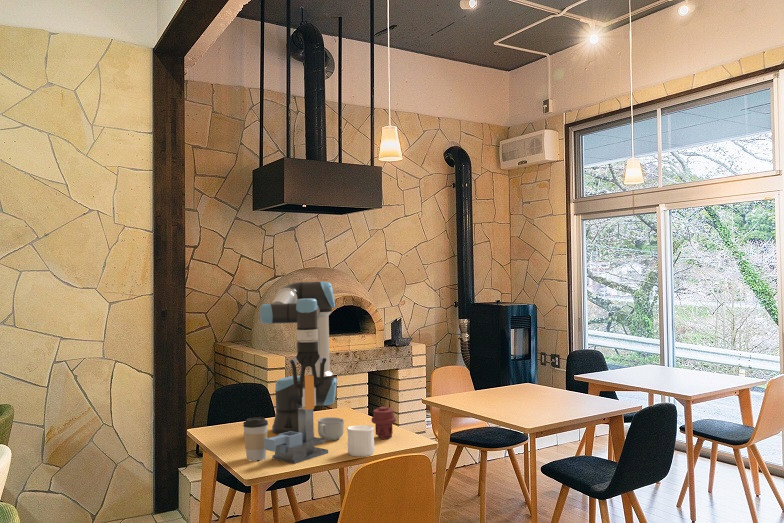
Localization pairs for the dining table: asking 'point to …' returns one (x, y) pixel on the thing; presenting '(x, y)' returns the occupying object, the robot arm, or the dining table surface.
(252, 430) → the coffee cup
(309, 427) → the grey fixture stand
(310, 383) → the orange rectangular block
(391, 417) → the mechanical component
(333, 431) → the teacup
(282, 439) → the bracket
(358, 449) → the cup
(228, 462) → the dining table surface
